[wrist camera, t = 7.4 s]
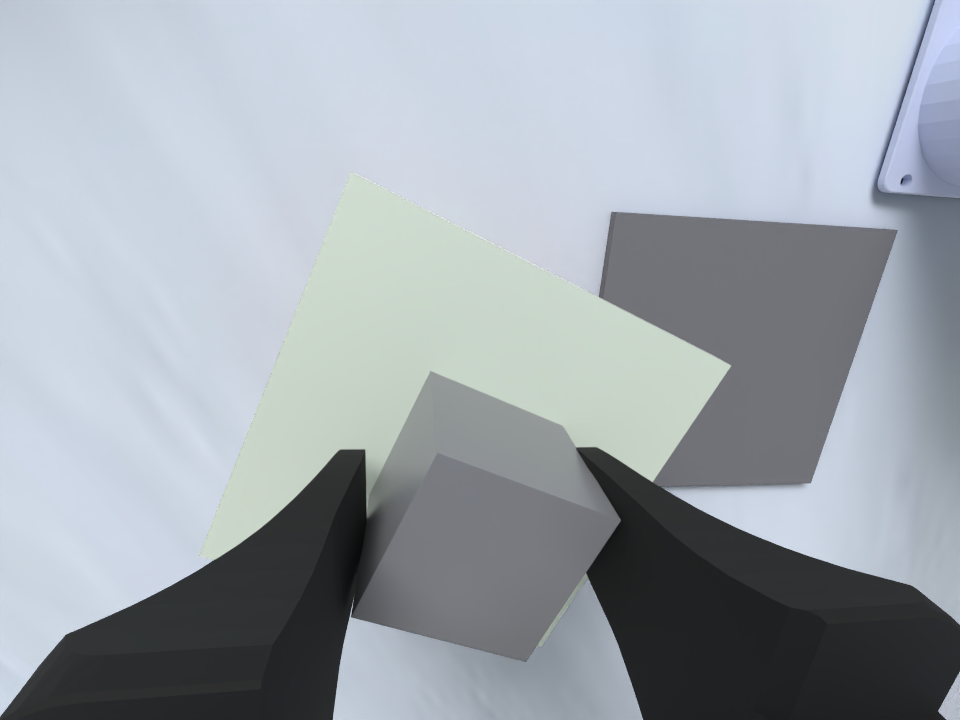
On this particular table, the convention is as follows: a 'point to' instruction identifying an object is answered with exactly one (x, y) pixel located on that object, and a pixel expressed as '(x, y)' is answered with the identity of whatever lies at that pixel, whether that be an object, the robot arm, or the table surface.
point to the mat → (751, 330)
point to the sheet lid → (460, 421)
